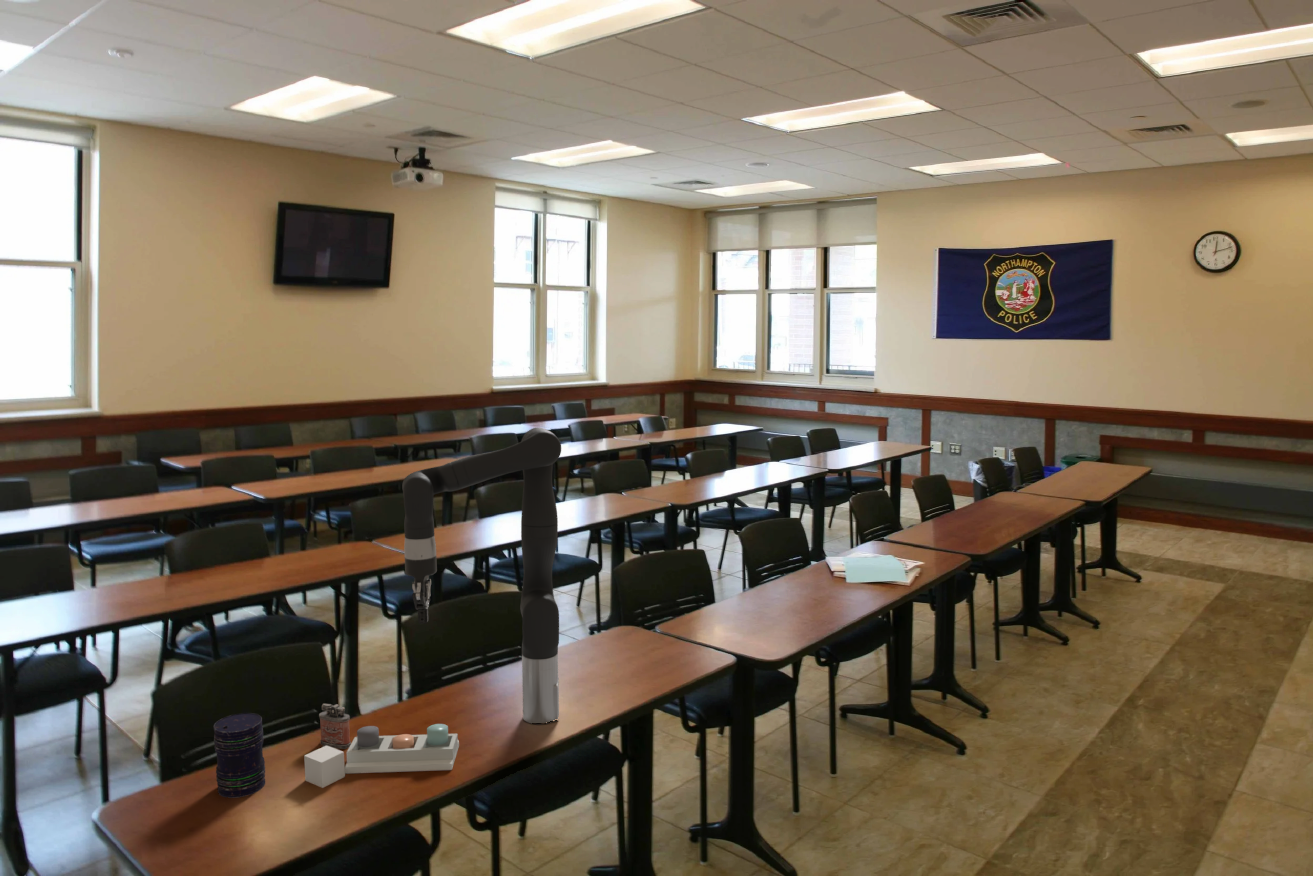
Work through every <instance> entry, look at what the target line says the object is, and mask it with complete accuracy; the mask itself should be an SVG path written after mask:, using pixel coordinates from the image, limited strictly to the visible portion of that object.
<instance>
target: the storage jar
mask: <svg viewBox="0 0 1313 876" xmlns="http://www.w3.org/2000/svg"><path fill="white" fill-rule="evenodd" d="M213 731H214V733H213V735H214V736H213V743H214V752H215V753H216V768H215V774H216V776H215V777H216V779H215V780H216V783H217V784H216V785H217V794H218V793H219V794H218V795H219V796H220V797H224V798H227V797H228V799H233V798H234V799H235V798H237V799H238V798H242V797H247V795H248V796H250V795H253V794H255V793H257V792H260V791H261V790H262V789H263V788H264V787H265V785H266V761H265V758H264V755H263V754H264V753H263V744H264V738H265V737H264V729H263V717H262V716H261V715H259V714H258V713H255V712H254V713H252V712H243V713H242V712H241V713H240V712H239V713H236V714H231V715H227V716H224V717H223V718H221V719H219V720H217V721H216V722H215V723H214V724H213Z"/></svg>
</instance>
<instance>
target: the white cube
mask: <svg viewBox="0 0 1313 876" xmlns="http://www.w3.org/2000/svg"><path fill="white" fill-rule="evenodd" d="M303 758H304V777H305V778H304V779H305V781H306V782H308V783H310V784H313V785H314V786H317V787H319V788H322V789H324V788H325V787H327V786H330V785H331V784H333V783H335V782H337V781H339V780H341V779H344V778H346V774H345V753H344V751H342V750H340V749H338V748H332V747H330V746H327V745H326V746H322V747H321V748H318V749H315V750H313V751H311V752H309V753H307V754H304V757H303Z"/></svg>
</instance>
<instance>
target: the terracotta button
mask: <svg viewBox="0 0 1313 876" xmlns="http://www.w3.org/2000/svg"><path fill="white" fill-rule="evenodd" d="M412 735H413V734H409V733H403V734H398V736H396V737H394V738H393V740H392V741H393V749H405V748H414V737H413V736H412Z"/></svg>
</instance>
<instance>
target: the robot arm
mask: <svg viewBox="0 0 1313 876" xmlns="http://www.w3.org/2000/svg"><path fill="white" fill-rule="evenodd" d="M561 453H562V444H561V442H560V439H559V437H557V436H556V434H555V433H553V432H552V431H550V430H548V429H546V428H543V427H533V428H531V429H529V430H527V432H525V433H524V435H523V436H522V438H521V440H520V442H518V443H515V444H513V445H510V446H508V447H505V448H502V449H498V450H494V451H489V452H484V453H478V454H475V455H474V454H473V455H469V456H466V457H463V458H460V459H456V460H452V461H451V462H447V463H445V464H443V465H439V466H433V467H428V468H425V469H420V470H417V471H414V472H411V473H410V474H408V475H406V476H405V477H404V479H403V481H402V484H401V485H402V486H401V488H402V493H403V505H404V506H403V507H404V515H405V517H404V521H403V522H404V523H403V524H404V527H403V528H404V546H403V548H404V549H403V550H404V569H405V570H404V573H405V575H407V576H409V577H413V578H414V579H413V582H412V584H411V585H412V587H411V588H412V591H413V593H412V595H411V596H412V599H413V604H414V609H415V610H417V620H418V621H417V622H418V624H419V625H426V624H428V622H429V606H430V601H431V585H432V579H431V578H429V576H433V575H434V574H436V573H437V571H438V565H437V564H438V563H437V561H438V560H437V545H436V544H437V542H436V538H435V523H434V521H435V520H434V515H433V514H434V513H433V511H434V495H437V494H440V493H441V494H442V493H444V492H456V491H459V490H463V489H465V488H468V487H470V486H471V487H472V486H474V485H476V484H480V483H483V482H485V481H489V480H491V479H494V478H497V477H500V476H504V475H507V474H511V473H516V472H521V471H522V474H523V476H522V477H523V490H522V499H521V500H522V501H521V521H520V525H521V526H520V528H521V529H520V538H521V539H520V541H521V555H522V565H523V580H522V588H521V589H522V591H521V598H520V604H519V605H520V610H519V611H520V614H521V617H522V619H521V620H522V643H521V669H522V670H521V673H522V674H521V675H522V679H521V680H522V682H521V683H522V719H523V720H524V721H525V722H526V723H529V724H532V723H546V722H550V721H553V720H555V719H558V717H559V716H560V692H559V691H560V689H559V685H560V684H559V683H560V682H559V645H560V611H559V606H558V604H557V602H556V599H555V596H554V586H553V566H554V561H555V556H556V551H557V546H558V535H559V534H558V533H559V532H558V530H559V528H558V523H559V521H558V518H559V517H558V511H557V510H558V509H557V504H556V498H555V493H554V488H553V471H554V470H553V467H554V464H555V463H556V461H558V460H559V458H560V456H561ZM558 720H559V719H558ZM553 722H554V721H553ZM550 723H551V722H550ZM546 724H547V723H546Z"/></svg>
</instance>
